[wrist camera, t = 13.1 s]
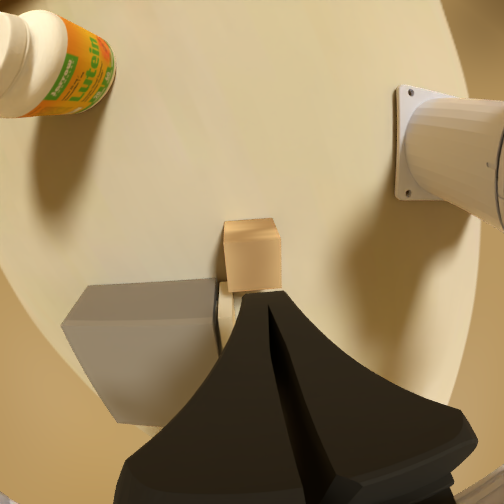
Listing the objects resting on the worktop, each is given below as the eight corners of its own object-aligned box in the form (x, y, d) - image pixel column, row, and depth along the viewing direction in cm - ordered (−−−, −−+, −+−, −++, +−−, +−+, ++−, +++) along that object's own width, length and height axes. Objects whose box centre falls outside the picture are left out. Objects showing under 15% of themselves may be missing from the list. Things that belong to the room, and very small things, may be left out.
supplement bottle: (110, 114, 15) (7, 119, 6) (44, 115, 14) (-63, 132, 5) (126, 34, 13) (42, -22, 4) (57, 42, 12) (-40, 17, 3)
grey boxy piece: (215, 278, 20) (212, 323, 16) (231, 381, 25) (232, 426, 20) (88, 285, 20) (60, 325, 15) (128, 381, 24) (117, 422, 20)
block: (272, 218, 19) (280, 239, 15) (273, 260, 20) (281, 287, 17) (224, 221, 18) (223, 243, 15) (228, 263, 20) (228, 292, 17)
